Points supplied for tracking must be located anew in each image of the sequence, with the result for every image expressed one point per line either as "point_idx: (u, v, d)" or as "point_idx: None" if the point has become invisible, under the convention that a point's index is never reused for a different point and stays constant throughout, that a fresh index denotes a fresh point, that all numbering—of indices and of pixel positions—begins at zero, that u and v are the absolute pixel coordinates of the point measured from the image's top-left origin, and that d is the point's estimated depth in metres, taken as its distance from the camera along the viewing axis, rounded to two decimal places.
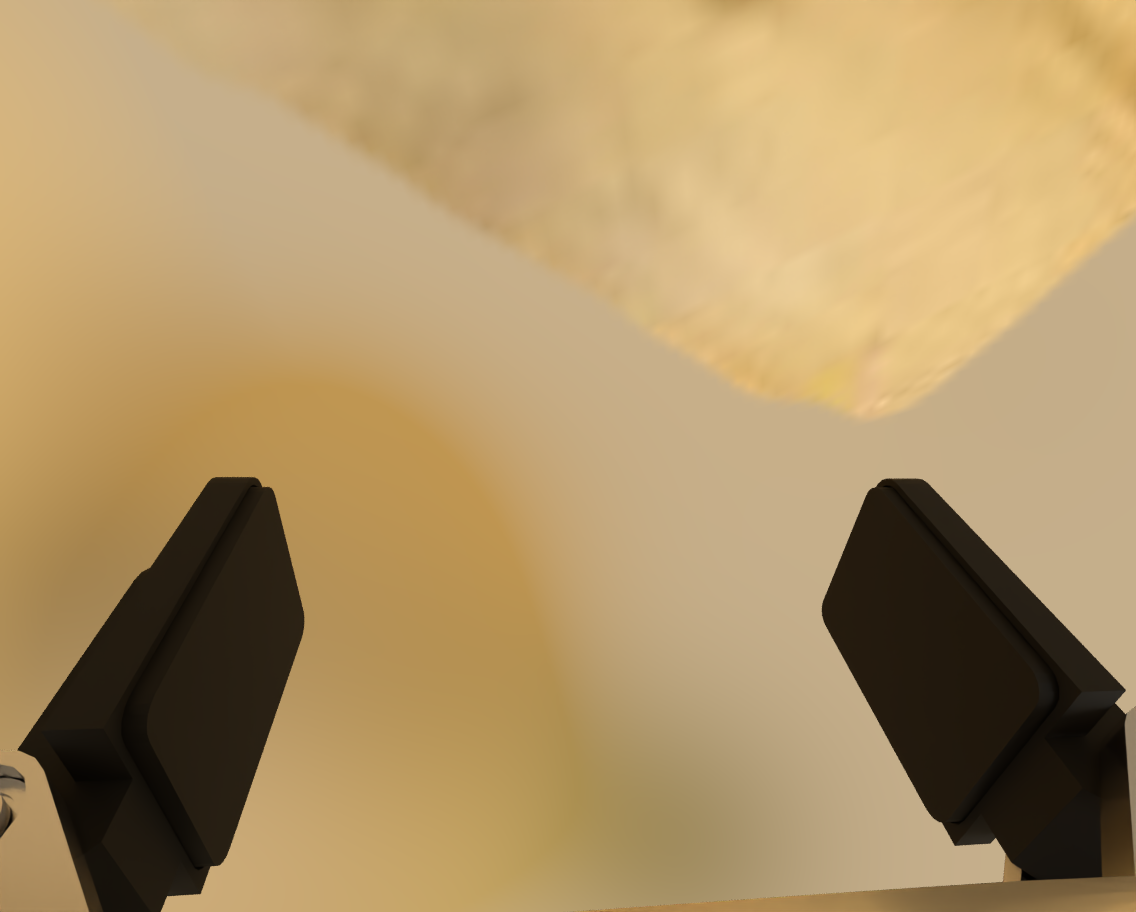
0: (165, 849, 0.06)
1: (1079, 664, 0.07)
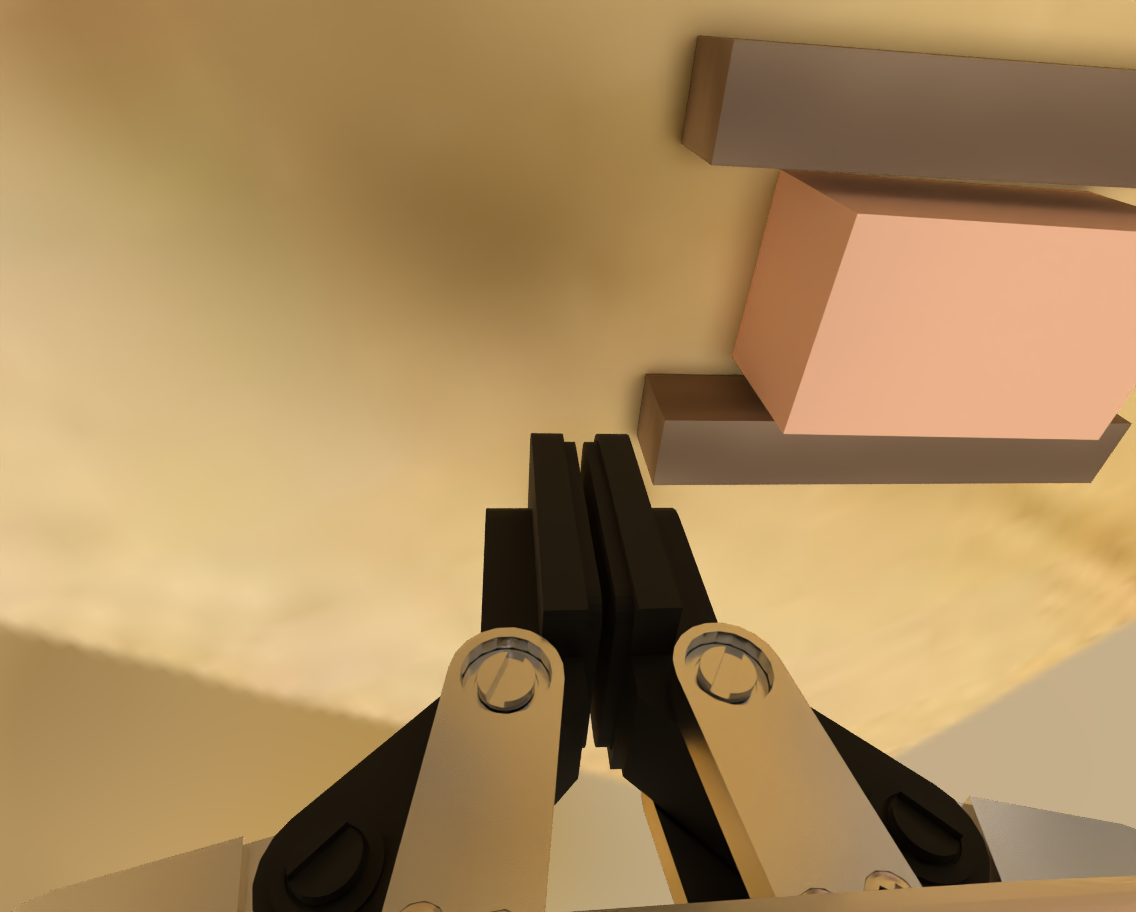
0: None
1: (653, 586, 0.07)
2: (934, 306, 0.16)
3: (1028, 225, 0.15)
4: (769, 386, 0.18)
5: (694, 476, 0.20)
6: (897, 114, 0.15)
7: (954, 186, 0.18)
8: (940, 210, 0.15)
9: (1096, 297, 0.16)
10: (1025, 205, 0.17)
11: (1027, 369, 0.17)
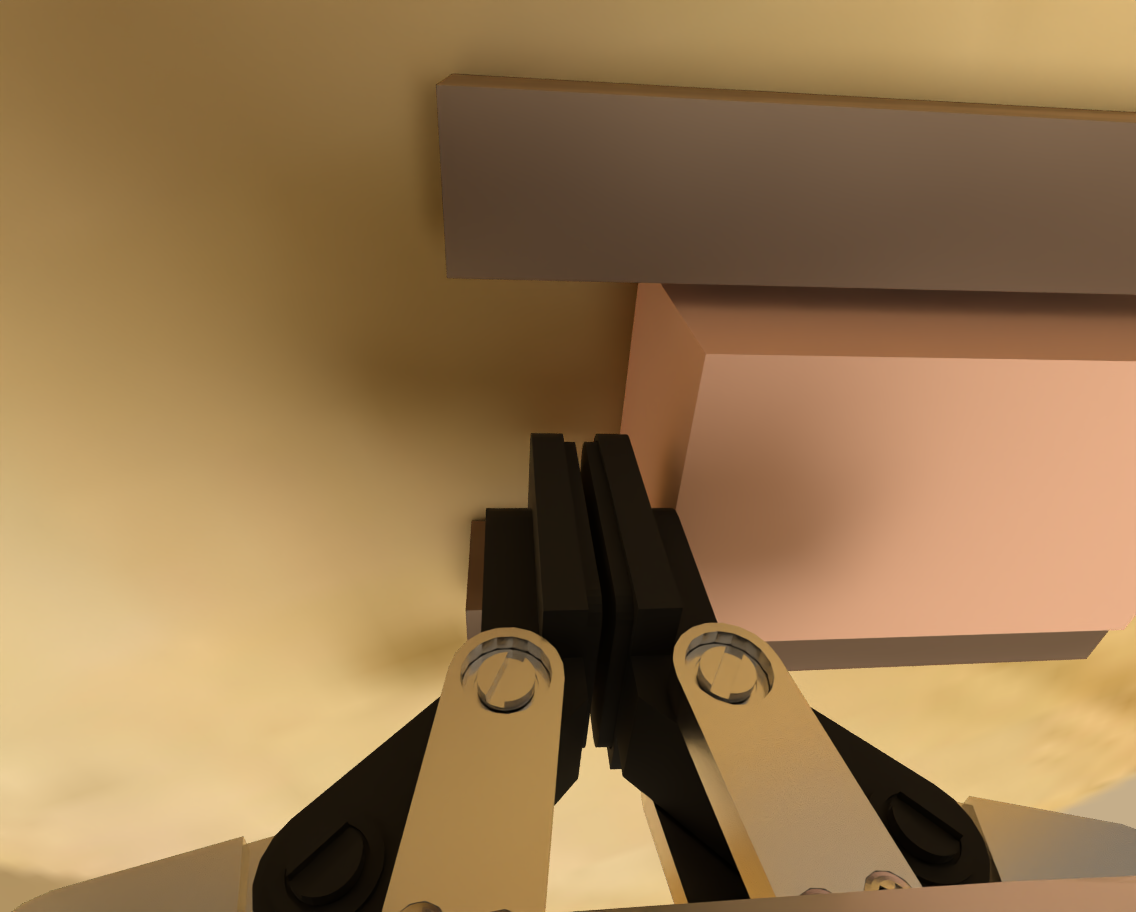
0: None
1: (653, 586, 0.07)
2: (855, 477, 0.10)
3: (995, 360, 0.09)
4: None
5: None
6: (738, 196, 0.09)
7: None
8: (854, 333, 0.09)
9: (1112, 454, 0.10)
10: (996, 308, 0.11)
11: (1011, 551, 0.11)
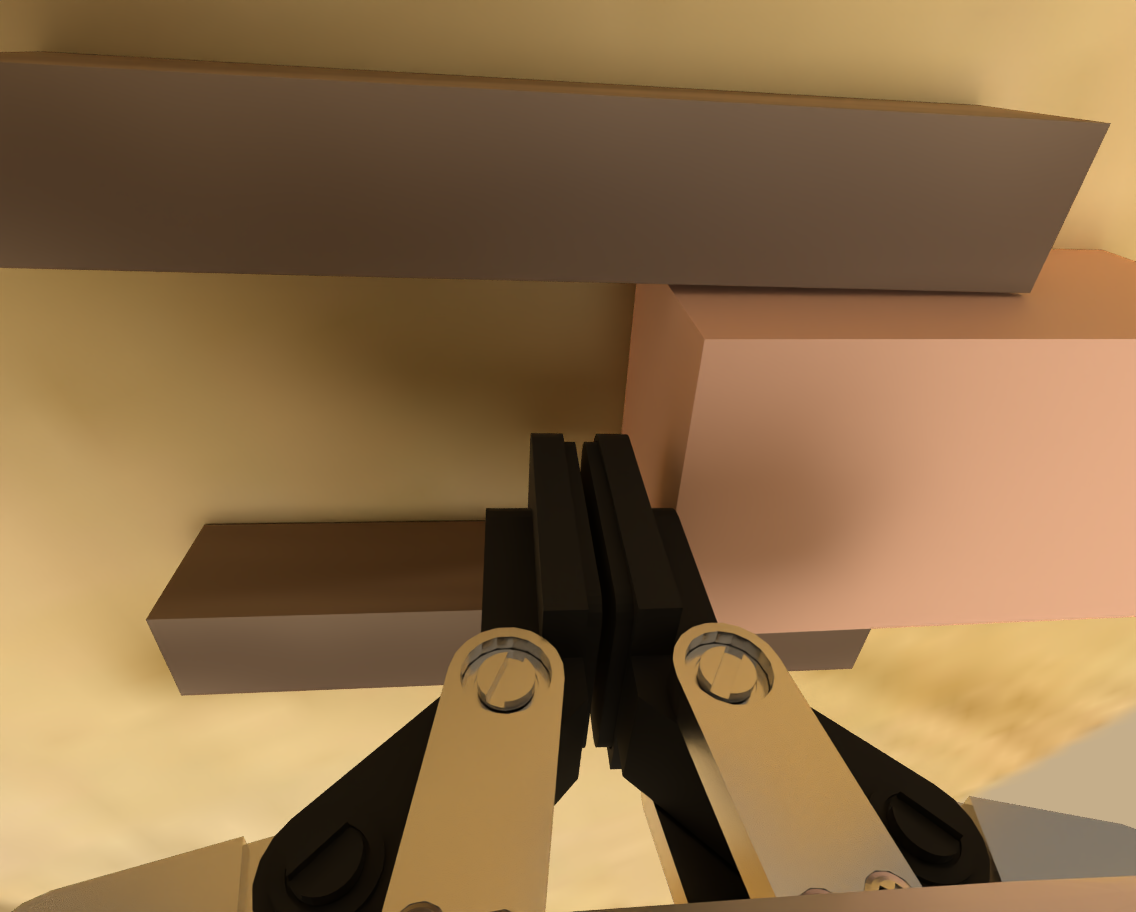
0: None
1: (653, 586, 0.07)
2: (860, 464, 0.10)
3: (1001, 339, 0.09)
4: None
5: (239, 683, 0.14)
6: (277, 179, 0.08)
7: None
8: (857, 316, 0.09)
9: (1124, 435, 0.10)
10: None
11: (1022, 537, 0.11)
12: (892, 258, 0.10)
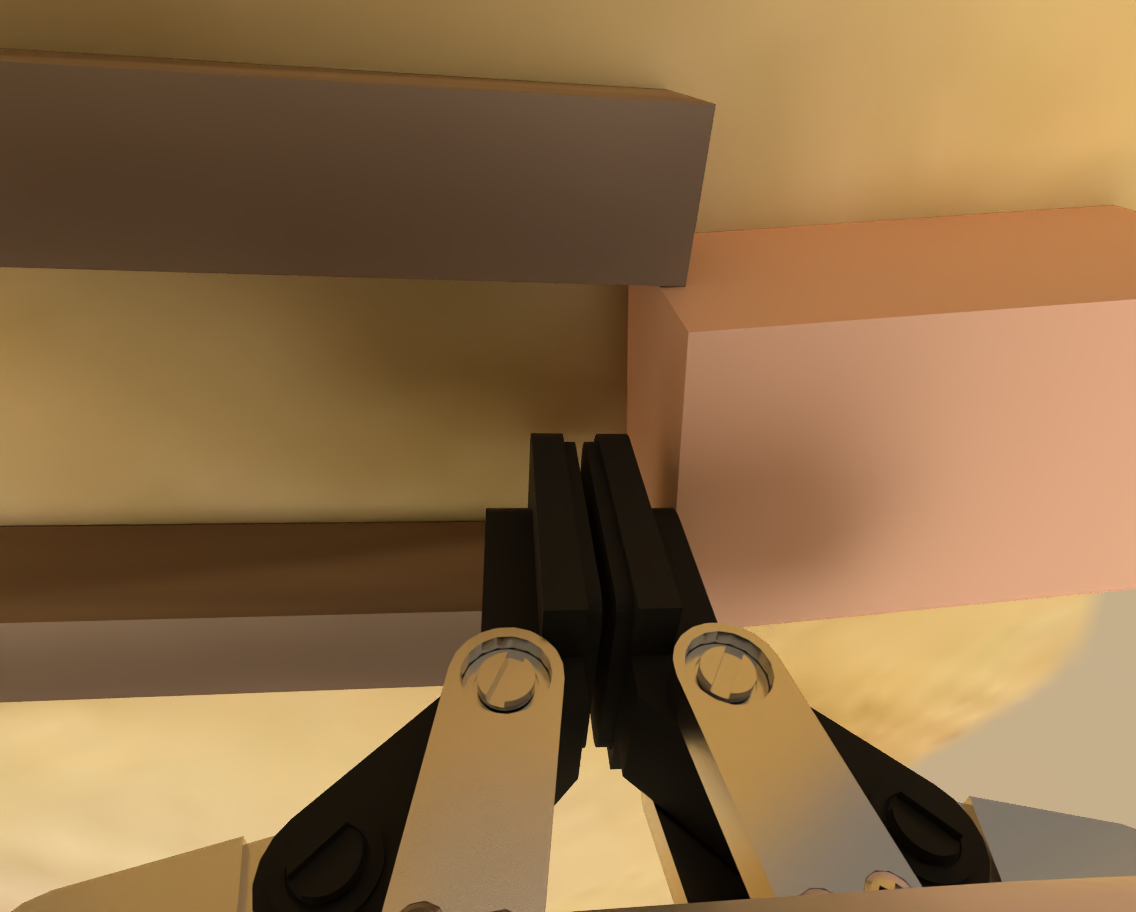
0: None
1: (653, 587, 0.07)
2: (863, 446, 0.10)
3: (1000, 309, 0.08)
4: None
5: None
6: None
7: (895, 230, 0.12)
8: (847, 296, 0.09)
9: None
10: (1003, 257, 0.10)
11: (1041, 510, 0.11)
12: (519, 248, 0.09)
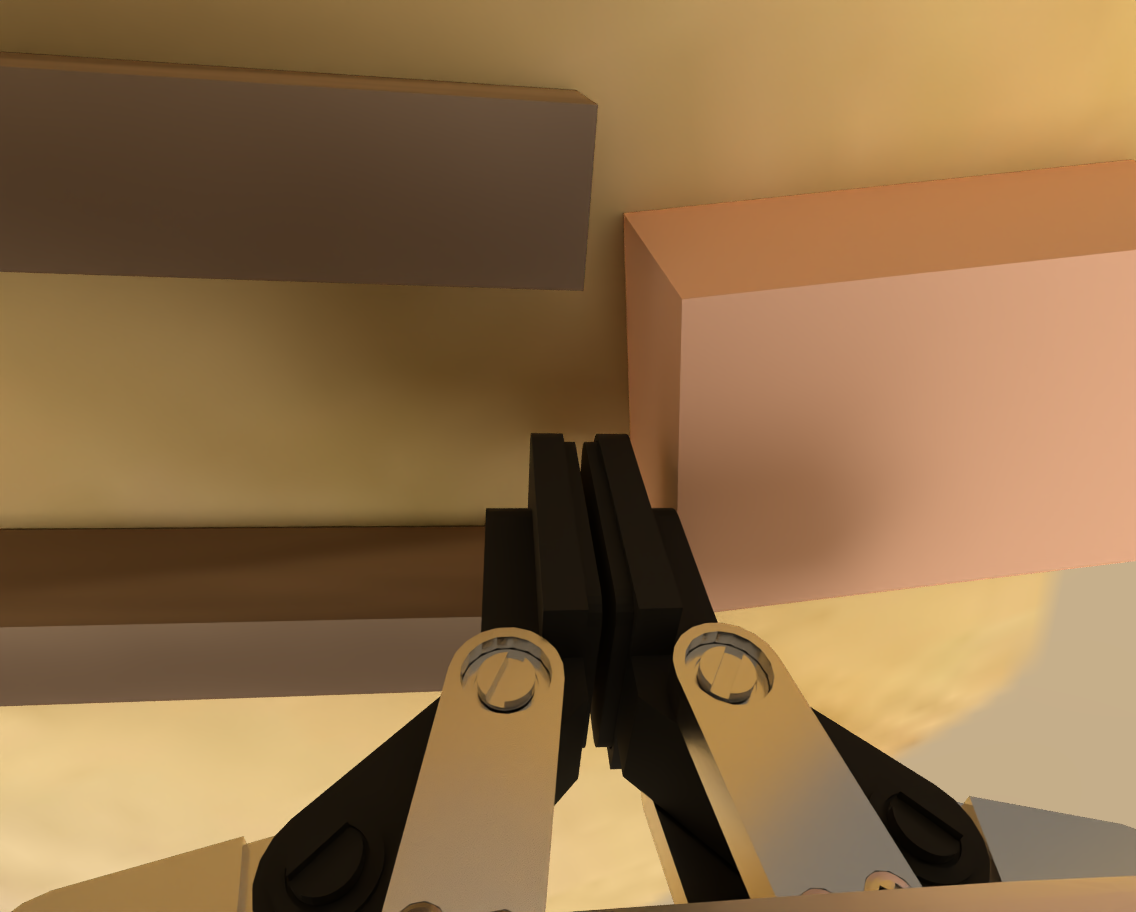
0: None
1: (653, 586, 0.07)
2: (869, 415, 0.09)
3: (1009, 264, 0.08)
4: None
5: None
6: None
7: (899, 193, 0.11)
8: (848, 258, 0.09)
9: None
10: (1013, 213, 0.10)
11: (1060, 477, 0.10)
12: (407, 251, 0.09)
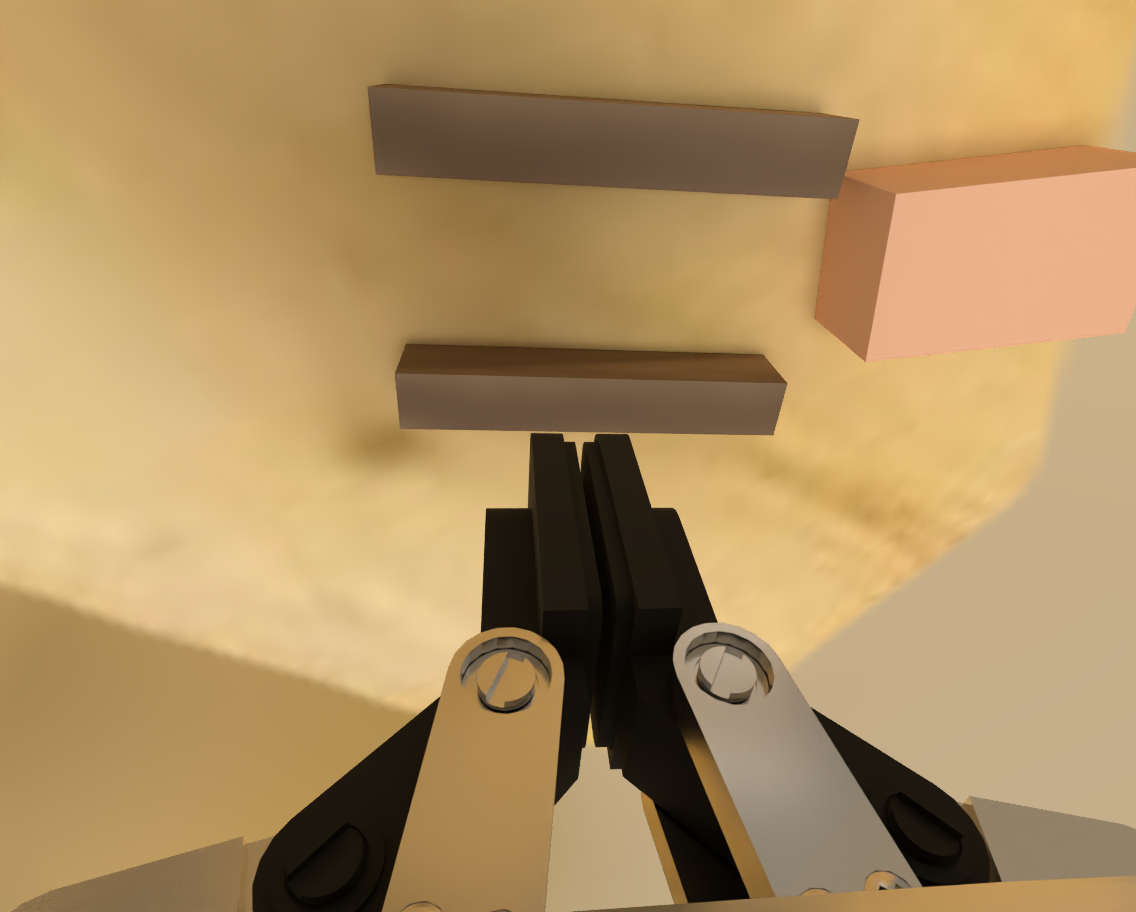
0: None
1: (653, 587, 0.07)
2: (965, 249, 0.22)
3: (1025, 180, 0.20)
4: (849, 331, 0.25)
5: (432, 421, 0.26)
6: (505, 138, 0.20)
7: (970, 161, 0.24)
8: (958, 181, 0.21)
9: (1092, 222, 0.21)
10: (1026, 165, 0.22)
11: (1050, 285, 0.22)
12: (769, 180, 0.22)
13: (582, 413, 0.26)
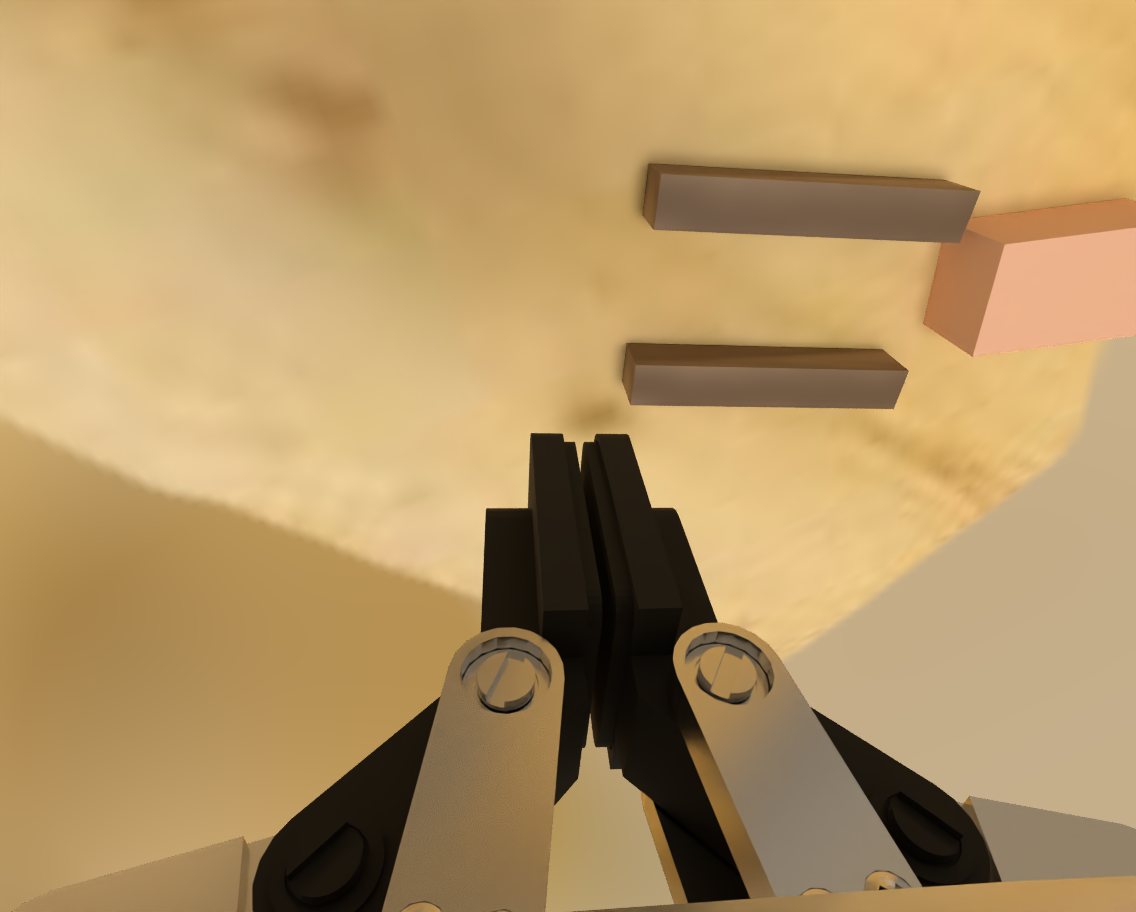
0: None
1: (653, 586, 0.07)
2: (1048, 279, 0.31)
3: (1091, 233, 0.30)
4: (957, 334, 0.35)
5: (654, 399, 0.35)
6: (744, 205, 0.30)
7: (1045, 212, 0.34)
8: (1044, 233, 0.31)
9: (1134, 259, 0.31)
10: (1088, 219, 0.32)
11: (1104, 301, 0.32)
12: (915, 231, 0.31)
13: (760, 393, 0.36)
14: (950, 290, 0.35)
